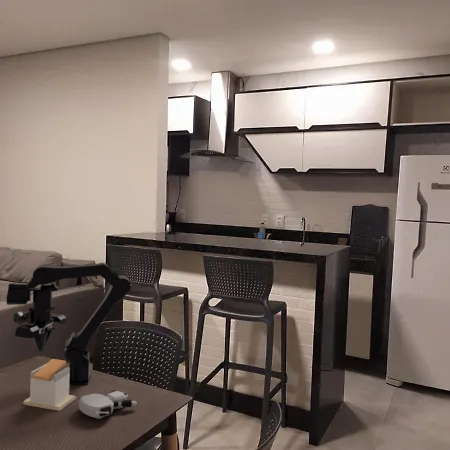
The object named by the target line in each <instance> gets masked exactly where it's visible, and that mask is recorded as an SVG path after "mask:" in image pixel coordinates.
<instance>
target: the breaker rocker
mask: <svg viewBox="0 0 450 450" xmlns="http://www.w3.org/2000/svg"><path fill="white" fill-rule="evenodd" d="M45 364H46V365H45ZM45 364H44V365H45V366H44V367H42V368H41V369H40V370H39V371H38V372H37V373H36V374H34V375H33V376H34V379H40V380H46V381H49V380H50V379H51V378H52V377H53V376H54V375H55V374H57V373H59V372H60V371H61V369H62V368H63V367H64V366H65V365H67V361H66V360H62V359H56V358H52V359H50V360H49V361H48V362H47V363H45Z"/></svg>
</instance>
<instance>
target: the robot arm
mask: <svg viewBox="0 0 450 450" xmlns="http://www.w3.org/2000/svg"><path fill="white" fill-rule="evenodd" d="M97 276H98V277H99V276H100V277H101V278H102V279H104V281H106V283H108V284H109V285H110V286H109V288H108V290H107V292H106V295H105V297H104V298H103V300H102V301H101V302H100V304H99V305H98V307H97V308H96V309H95V311H94V312H93V313H92V314H91V316H90V318H89V319H88V321H86V323H85V324H84V326H83V327H82V328H81V330H80V331H78V332H77V333H76V332H74V331H73V332H72V333H71V335H70V337H69V338H68V339H67V340H66V341H65V347H64V348H65V349H64V358H65V359H66V360H67V361H68V362H69V366H68V367H70V377H69V385H88V384H89V382H90V380H91V376H92V375H91V360H90V352H89V350H87V347H88V346H89V342H90V340H91V338H92V337H93V336H94V334H95V333H96V331H97V330H98V328H99V327H100V326H101V325H102V323H103V322H104V320H105V319H106V317H107V316H108V315H109V313H111V310H112V309H113V308H114V307H115V305H116V304H117V303H119V302H120V301H121V300H123V298H124V297H126V295H128V293H130V291H131V289H132V286H131V285H132V284H131V282H130V281H129V279H128V277H126V276H125V275H122V274H121V275H120V274H119V273H118V272H117V271H115V270H114V269H112V268H111V267H109V266H108V264H106V263H105V262H99V263H90V264H77V265H76V264H75V265H68V266H67V265H65V266H62V265H61V266H60V265H55V264H45V263H43V264H39V265H38V266H37V267H36V268H35V269H34V270H33V273H32V277H31V279H28V282H27V283H16V282H9V284H8V287H7V293H6V305H8V306H12V305H13V306H16V305H17V306H19V305H27V304H28V303H29V302H31V300H32V306H30V307H29V308H28V311H25V312H22V311H18V312H15V313H13V317H12V318H13V321H14V323H15V324H17V325H18V327H16V328H15V329H14V337H18V338H25V339H34V341H35V343H36V347H37V349H38V351H39V352H43V351H44V350H45V349H46V346H47V344H48V342H49V340H50V338H51V337H52V336H53V333H54V332H55V331H56V330H57V329H56V327H53V325H52V324H55V323H58V324H59V325H61V326H62V325H65V324H66V323H67V316H65V314H59V313H52V311H53V310H55V306H54V305H53V304H52V301H53V291H54V292H57V291H58V290H59V286H58V285H57V284H55V282H59V281H61V280H66V279H76V278H77V279H78V278H88V277H97ZM24 323H25V324H24ZM26 323H27V324H26ZM19 325H20V326H19Z"/></svg>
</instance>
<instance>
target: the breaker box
mask: <svg viewBox="0 0 450 450" xmlns="http://www.w3.org/2000/svg"><path fill="white" fill-rule="evenodd" d="M46 364H47V363H45V364H43V365H41V366H39V367H37V368H36V369H34V370H31V372H30V385H29V386H30V389H29V390H30V391H29V397H28V398H26V399H25V400H24V401H23V405H24V406H29V407H37V408H42V409H48V410H53V411H59V412H60V411H61V410H63V409H64V408H65V407H66V406H68V405H69V404H70V403H71V402H73V401H74V400H75V398H74V397H76V395H72V394H70V384H69V377H70V367H69V366H67V367H65V368H63V369H62V370H59V373H57V374H55V375H54V376H53V377H52V378H51V379H50V380H49V381H46V380H40V379H34V376H33V375H34V374H36V373H37V372H38V371H39V370H40V369H41V368H42V367H44V366H45V365H46Z"/></svg>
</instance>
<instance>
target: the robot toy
mask: <svg viewBox="0 0 450 450" xmlns="http://www.w3.org/2000/svg"><path fill="white" fill-rule="evenodd" d="M74 398H75V399H79V401H78V408H79V410H80V412H82V413H83V414H85V415H87V416H88V417H92V418H95V419H97V420H99V419H102V418H104V417H106V416H110V415H111V414H112V413H113V411H114V410H115V409H117V410H118V409H123V408H131V407H132V406H137V404H138V402H137V401H136V400H132V399H129V394H127V393H125V392H122V391H119V390H116V389H115V390H111V391H110V392H108V393H107V395H104V394H101V393H91V394H86V395H83V396H81V397H80V396H75V397H74ZM75 399H74V400H75Z"/></svg>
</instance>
